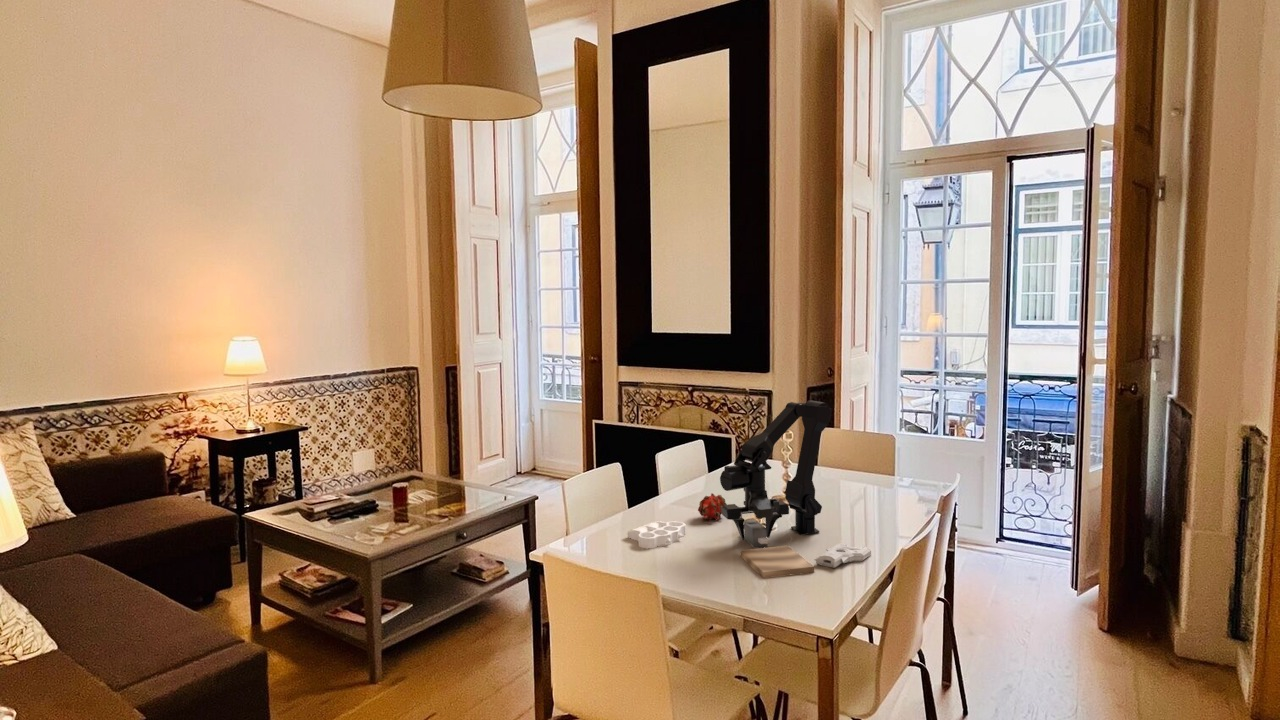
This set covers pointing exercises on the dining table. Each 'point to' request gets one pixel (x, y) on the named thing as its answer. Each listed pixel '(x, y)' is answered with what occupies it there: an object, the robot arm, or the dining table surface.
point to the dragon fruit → (711, 506)
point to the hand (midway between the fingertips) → (755, 538)
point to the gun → (842, 555)
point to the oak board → (776, 561)
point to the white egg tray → (658, 533)
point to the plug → (755, 534)
